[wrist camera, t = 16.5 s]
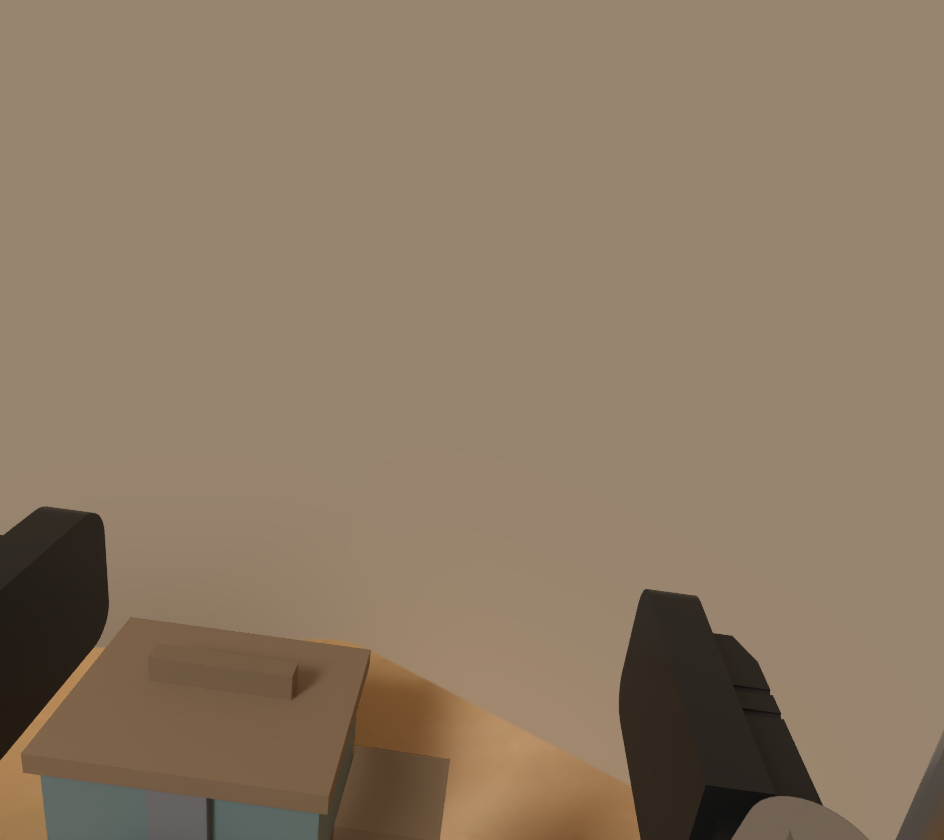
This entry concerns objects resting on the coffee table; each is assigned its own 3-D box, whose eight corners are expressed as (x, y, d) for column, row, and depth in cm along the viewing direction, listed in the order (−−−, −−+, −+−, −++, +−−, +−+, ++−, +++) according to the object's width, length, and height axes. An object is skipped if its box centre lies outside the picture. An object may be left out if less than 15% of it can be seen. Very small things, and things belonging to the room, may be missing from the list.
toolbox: (361, 752, 49) (372, 628, 46) (320, 914, 39) (330, 770, 36) (135, 721, 49) (129, 595, 46) (35, 874, 39) (17, 727, 36)
